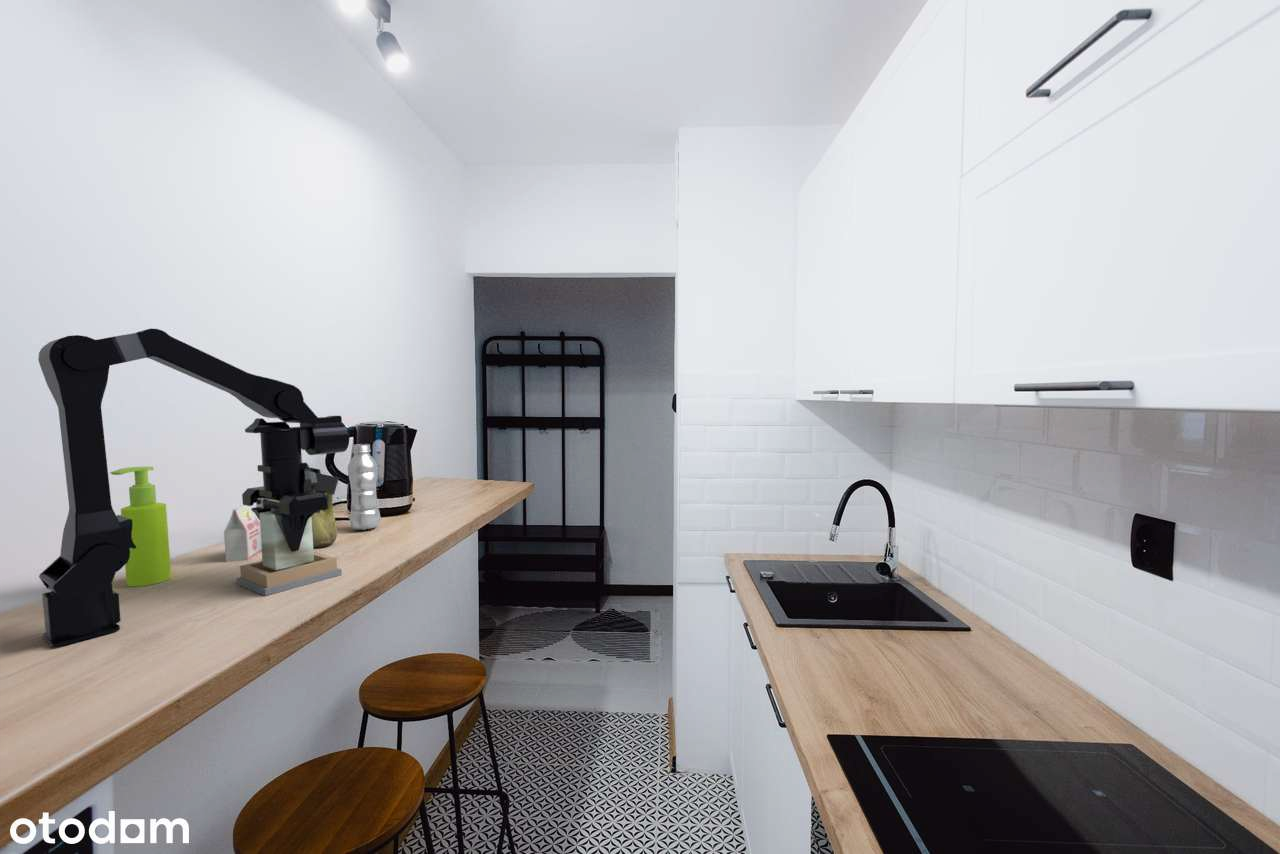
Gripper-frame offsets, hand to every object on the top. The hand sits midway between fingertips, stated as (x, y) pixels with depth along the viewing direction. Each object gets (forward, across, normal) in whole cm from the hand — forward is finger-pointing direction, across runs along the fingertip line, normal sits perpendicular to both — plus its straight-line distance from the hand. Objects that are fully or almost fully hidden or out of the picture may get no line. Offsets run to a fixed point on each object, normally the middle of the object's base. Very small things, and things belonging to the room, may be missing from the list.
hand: (287, 548), depth 97 cm
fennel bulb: (+6, +18, -14) cm, 24 cm away
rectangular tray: (+5, 0, 0) cm, 5 cm away
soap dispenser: (+6, +21, +14) cm, 26 cm away
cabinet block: (+2, 0, 0) cm, 2 cm away
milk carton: (+6, +24, -2) cm, 25 cm away
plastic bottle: (+6, +24, -27) cm, 37 cm away
